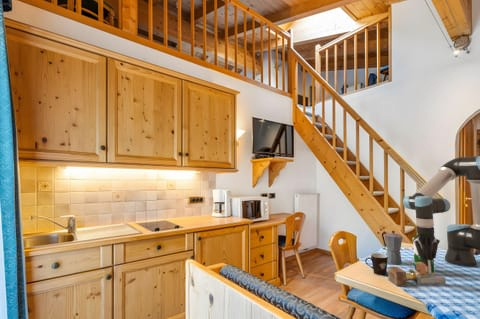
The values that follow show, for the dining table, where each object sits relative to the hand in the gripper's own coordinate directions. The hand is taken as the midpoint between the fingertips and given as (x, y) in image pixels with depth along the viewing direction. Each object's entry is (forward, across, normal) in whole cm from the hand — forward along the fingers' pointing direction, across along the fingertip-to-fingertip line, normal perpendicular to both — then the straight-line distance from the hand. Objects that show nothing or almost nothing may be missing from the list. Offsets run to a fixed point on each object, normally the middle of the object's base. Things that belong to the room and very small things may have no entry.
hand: (428, 272), depth 141 cm
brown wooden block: (+5, +16, 0) cm, 17 cm away
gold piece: (+4, +10, 0) cm, 11 cm away
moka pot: (+5, +2, -30) cm, 31 cm away
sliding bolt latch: (+5, +1, 0) cm, 5 cm away
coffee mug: (+5, +20, -14) cm, 25 cm away
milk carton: (+6, -7, -14) cm, 17 cm away
